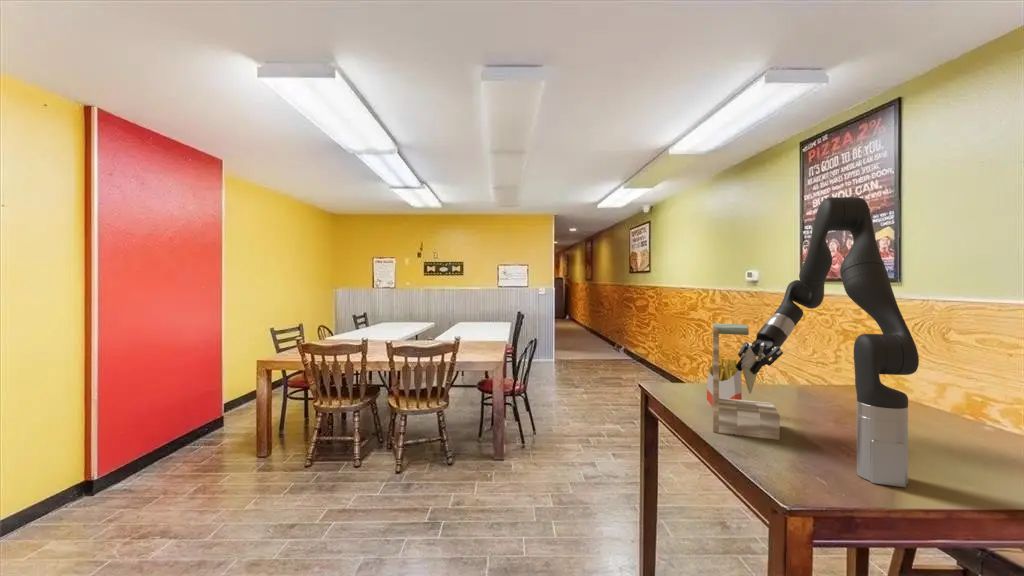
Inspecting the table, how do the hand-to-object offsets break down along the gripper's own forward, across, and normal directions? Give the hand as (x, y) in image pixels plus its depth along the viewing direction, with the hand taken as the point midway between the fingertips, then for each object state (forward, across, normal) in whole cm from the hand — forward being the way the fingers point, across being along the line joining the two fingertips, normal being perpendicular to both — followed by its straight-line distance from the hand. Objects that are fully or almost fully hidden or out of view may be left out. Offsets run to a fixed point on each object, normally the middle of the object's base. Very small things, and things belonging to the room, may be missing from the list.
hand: (745, 370), depth 142 cm
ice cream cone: (+4, 0, +6) cm, 8 cm away
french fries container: (+5, -22, +21) cm, 31 cm away
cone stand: (+12, 0, +14) cm, 18 cm away
